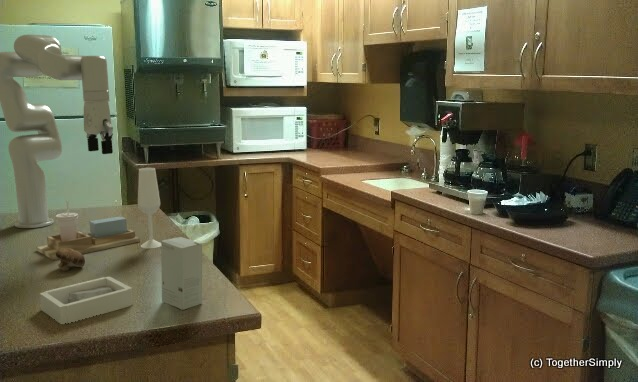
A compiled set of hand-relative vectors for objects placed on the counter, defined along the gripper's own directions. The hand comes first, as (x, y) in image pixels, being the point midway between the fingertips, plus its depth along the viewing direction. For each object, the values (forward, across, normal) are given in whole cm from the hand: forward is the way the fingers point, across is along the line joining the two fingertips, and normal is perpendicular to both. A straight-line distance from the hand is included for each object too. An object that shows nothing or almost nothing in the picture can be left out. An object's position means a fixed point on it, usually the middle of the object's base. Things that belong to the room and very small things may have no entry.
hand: (100, 152), depth 191 cm
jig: (+28, +3, -7) cm, 29 cm away
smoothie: (+27, +3, -13) cm, 30 cm away
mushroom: (+29, +21, -20) cm, 41 cm away
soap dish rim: (+28, +52, -29) cm, 66 cm away
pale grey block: (+27, +3, 0) cm, 27 cm away
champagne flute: (+28, +16, +7) cm, 33 cm away
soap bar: (+29, +50, -27) cm, 64 cm away
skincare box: (+28, +65, -12) cm, 72 cm away
